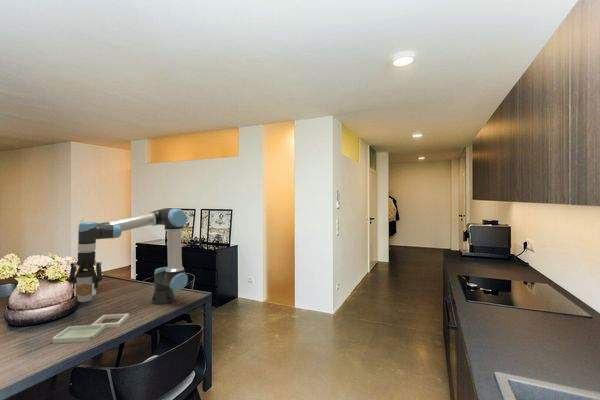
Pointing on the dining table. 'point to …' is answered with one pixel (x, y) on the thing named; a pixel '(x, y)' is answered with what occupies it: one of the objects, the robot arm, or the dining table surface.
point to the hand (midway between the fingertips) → (85, 295)
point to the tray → (78, 334)
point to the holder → (112, 316)
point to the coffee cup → (84, 286)
